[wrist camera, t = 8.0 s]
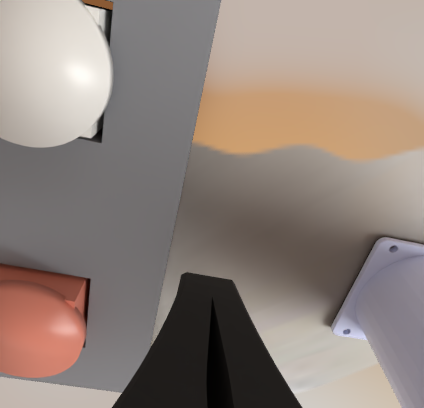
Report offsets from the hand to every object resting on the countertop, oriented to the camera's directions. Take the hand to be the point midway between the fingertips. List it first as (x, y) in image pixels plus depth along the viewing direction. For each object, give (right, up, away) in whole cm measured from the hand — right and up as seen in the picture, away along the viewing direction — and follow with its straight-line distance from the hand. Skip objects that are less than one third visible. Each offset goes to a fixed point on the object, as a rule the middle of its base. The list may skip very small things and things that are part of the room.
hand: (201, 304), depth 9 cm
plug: (-6, +9, +6) cm, 13 cm away
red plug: (-9, -1, +11) cm, 14 cm away
